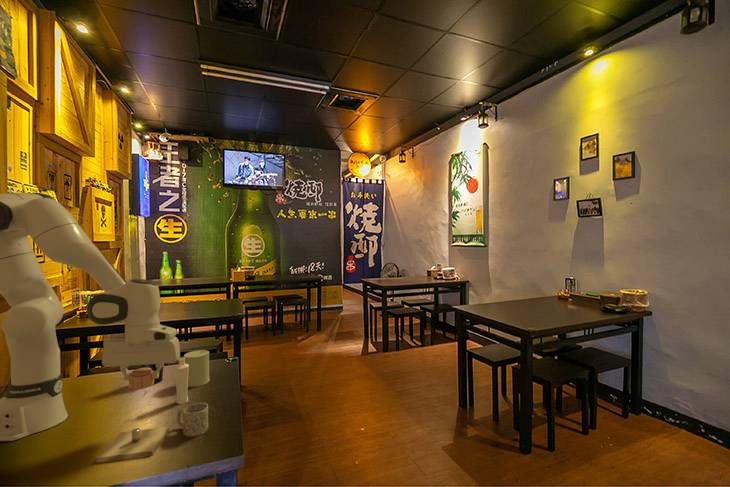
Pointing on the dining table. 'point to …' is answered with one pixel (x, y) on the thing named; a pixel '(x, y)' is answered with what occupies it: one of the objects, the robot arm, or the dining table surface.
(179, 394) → the perfume bottle
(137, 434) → the stud
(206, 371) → the can
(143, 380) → the cap
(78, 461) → the dining table surface
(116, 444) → the board
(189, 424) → the mug
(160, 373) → the potion bottle
